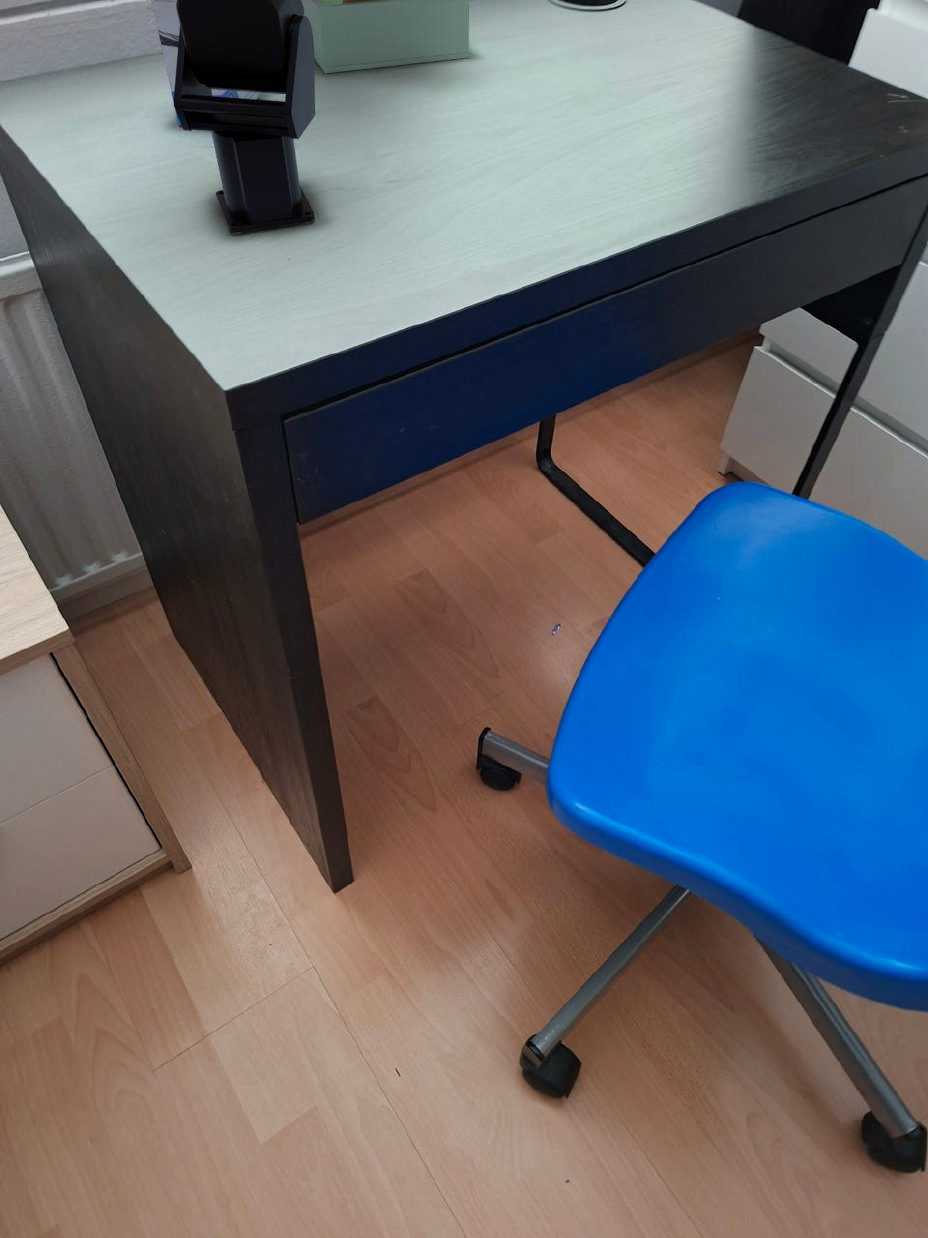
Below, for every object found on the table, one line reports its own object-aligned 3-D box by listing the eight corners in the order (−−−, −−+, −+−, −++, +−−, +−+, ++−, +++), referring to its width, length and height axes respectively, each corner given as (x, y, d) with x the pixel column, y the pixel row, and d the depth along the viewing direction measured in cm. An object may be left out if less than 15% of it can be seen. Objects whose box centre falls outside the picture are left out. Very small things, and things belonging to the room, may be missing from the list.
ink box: (228, 131, 75) (198, -34, 66) (176, 125, 75) (138, -38, 66) (262, 96, 80) (238, -61, 71) (212, 91, 81) (182, -65, 72)
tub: (468, 57, 87) (469, -7, 83) (325, 73, 84) (318, 7, 80) (423, 13, 97) (422, -47, 92) (292, 26, 93) (284, -36, 89)
